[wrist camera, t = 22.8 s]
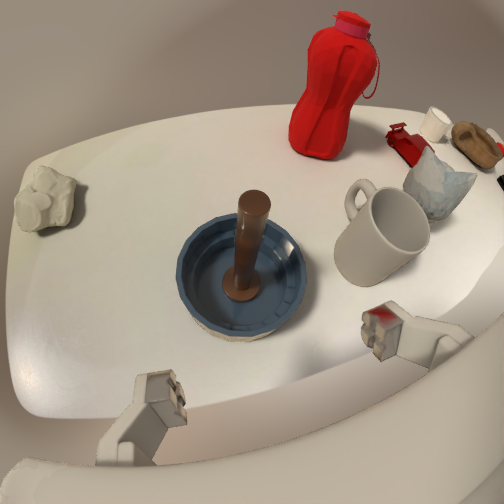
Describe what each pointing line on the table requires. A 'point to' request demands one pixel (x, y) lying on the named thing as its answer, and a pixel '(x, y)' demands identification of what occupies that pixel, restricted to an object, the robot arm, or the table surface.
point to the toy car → (407, 143)
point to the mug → (379, 234)
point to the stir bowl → (222, 258)
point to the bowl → (476, 144)
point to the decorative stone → (45, 201)
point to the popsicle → (501, 147)
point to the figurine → (437, 186)
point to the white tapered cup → (435, 124)
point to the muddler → (247, 247)
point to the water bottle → (333, 86)
